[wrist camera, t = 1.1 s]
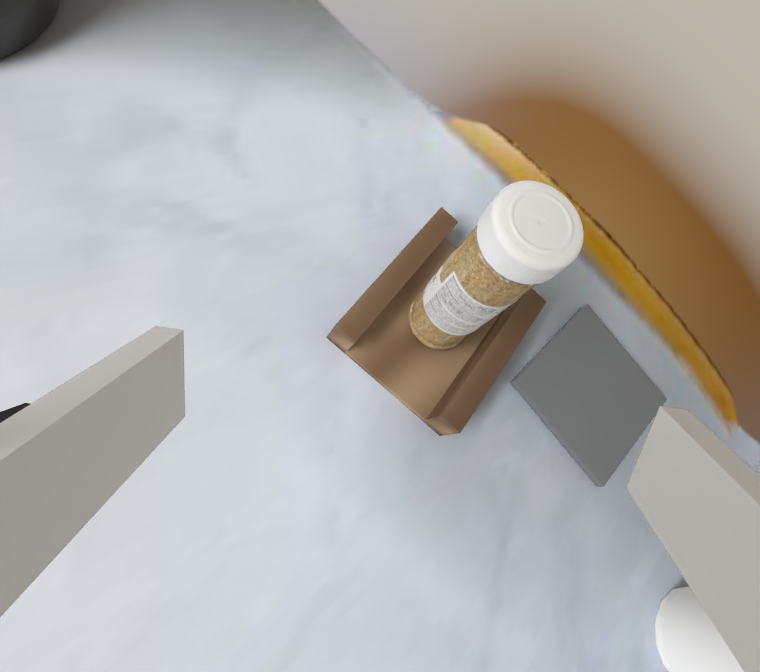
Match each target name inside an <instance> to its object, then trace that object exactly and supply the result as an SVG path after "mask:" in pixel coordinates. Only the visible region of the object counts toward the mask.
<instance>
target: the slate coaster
mask: <svg viewBox="0 0 760 672" xmlns="http://www.w3.org/2000/svg"><path fill="white" fill-rule="evenodd" d="M511 384H512V385H513V386H514V387H515V388H516V390H517V391H518V392H519V393H520V394H521V396H522V397H523V398H524V399H525V400H526V402H527V403H528V404H529V405H530V406H531V408H532V409H533V410H534V411H535V412H536V414H537V415H538V416H539V417H540V418H541V420H542V421H543V422H544V423H545V424H546V426H547V427H548V428H549V429H550V430H551V432H552V433H553V434H554V435H555V436H556V438H557V439H558V440H559V441H560V442H561V444H562V445H563V446H564V447H565V448H566V450H567V451H568V452H569V453H570V454H571V456H572V457H573V458H574V459H575V460H576V462H577V463H578V464H579V465H580V466H581V468H582V469H583V470H584V471H585V472H586V474H587V475H588V476H589V477H590V478H591V480H592V481H593V482H594V483H595V484H596V486H599V487H603V486H604V485H605V483H606V482H607V481H608V479H609V478H610V477H611V475H612V474H613V472H614V471H615V470H616V468H617V467H618V466H619V464H620V463H621V461H622V460H623V459H624V457H625V456H626V454H627V453H628V452H629V450H630V449H631V448H632V446H633V445H634V443H635V442H636V441H637V439H638V438H639V437H640V435H641V434H642V432H643V431H644V430H645V428H646V427H647V425H648V424H649V423H650V421H651V420H652V419H653V417H654V416H655V414H656V413H657V412H658V410H659V407H660V406H662V405H663V403H664V402H665V401H666V398H665V397H664V395H663V394H662V393H661V392H660V391H659V389H658V388H657V387H656V386H655V385H654V383H653V382H652V381H651V380H650V379H649V377H648V376H647V375H646V374H645V373H644V372H643V370H642V369H641V368H640V367H639V366H638V364H637V363H636V362H635V361H634V360H633V358H632V357H631V356H630V355H629V354H628V352H627V351H626V350H625V349H624V348H623V346H622V345H621V344H620V343H619V342H618V340H617V339H616V338H615V337H614V336H613V334H612V333H611V332H610V331H609V330H608V329H607V327H606V326H605V325H604V324H603V323H602V321H601V320H600V319H599V318H598V317H597V315H596V314H595V313H594V312H593V311H592V309H591V308H590V307H589V306H588V305H586V306H584V307H582V308H581V309H580V310H579V311H578V312H577V313H576V314H575V315H574V316H573V317H572V318H571V319H570V320H569V322H568V323H567V324H566V325H565V326H564V327H563V328H562V329H561V330H560V331H559V332H558V333H557V334H556V335H555V336H554V337H553V338H552V339H551V340H550V341H549V342H548V343H547V344H546V345H545V347H544V348H543V349H542V350H541V351H540V352H539V353H538V354H537V355H536V356H535V357H534V358H533V359H532V360H531V361H530V362H529V363H528V364H527V365H526V366H525V367H524V368H523V369H522V371H521V372H520V373H519V374H518V375H517V376H516V377H515V378H514V379H513V380H512V381H511Z"/></svg>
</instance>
